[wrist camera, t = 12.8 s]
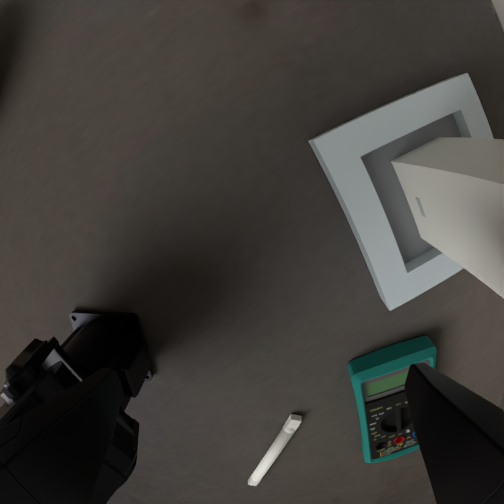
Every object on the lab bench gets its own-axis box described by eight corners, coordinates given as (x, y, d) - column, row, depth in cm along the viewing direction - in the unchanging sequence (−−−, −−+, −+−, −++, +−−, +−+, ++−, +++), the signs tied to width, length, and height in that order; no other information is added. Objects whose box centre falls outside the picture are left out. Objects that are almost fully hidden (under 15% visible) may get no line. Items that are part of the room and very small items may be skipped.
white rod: (257, 479, 30) (256, 487, 29) (247, 478, 30) (246, 486, 29) (301, 413, 26) (302, 423, 25) (289, 411, 26) (290, 421, 25)
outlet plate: (379, 296, 22) (389, 311, 20) (308, 140, 18) (313, 140, 16) (500, 224, 19) (516, 232, 17) (451, 77, 16) (467, 72, 14)
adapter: (420, 238, 19) (550, 340, 7) (390, 161, 18) (546, 197, 5) (465, 211, 18) (603, 283, 6) (439, 136, 17) (599, 151, 5)
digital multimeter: (361, 450, 28) (366, 470, 25) (344, 356, 24) (352, 379, 21) (423, 429, 27) (431, 448, 24) (426, 328, 23) (440, 347, 20)
